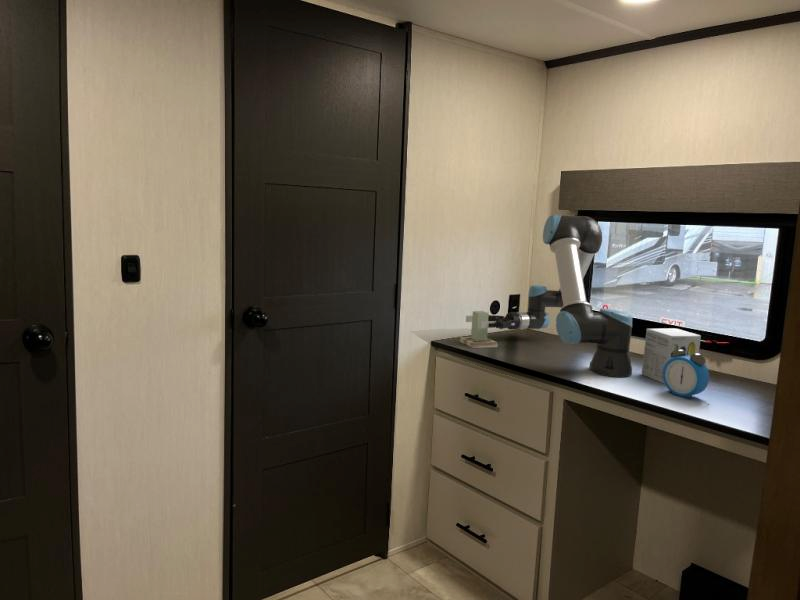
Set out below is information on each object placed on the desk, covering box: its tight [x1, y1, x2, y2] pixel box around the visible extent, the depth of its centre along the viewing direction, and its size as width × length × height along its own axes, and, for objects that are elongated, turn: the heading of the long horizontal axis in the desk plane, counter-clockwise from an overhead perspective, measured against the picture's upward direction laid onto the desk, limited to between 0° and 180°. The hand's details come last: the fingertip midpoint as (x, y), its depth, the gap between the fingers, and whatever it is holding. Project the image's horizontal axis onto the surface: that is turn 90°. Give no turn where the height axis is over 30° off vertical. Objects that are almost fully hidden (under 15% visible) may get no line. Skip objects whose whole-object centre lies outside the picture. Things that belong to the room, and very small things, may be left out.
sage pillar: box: [470, 310, 490, 341], centre depth 261 cm, size 5×5×12 cm
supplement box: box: [641, 327, 702, 385], centre depth 220 cm, size 13×13×18 cm
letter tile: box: [459, 336, 498, 349], centre depth 262 cm, size 12×12×2 cm
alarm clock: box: [663, 349, 710, 400], centre depth 200 cm, size 13×6×15 cm, turn 35°
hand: (473, 321), depth 260 cm, fingers open, 13 cm apart
